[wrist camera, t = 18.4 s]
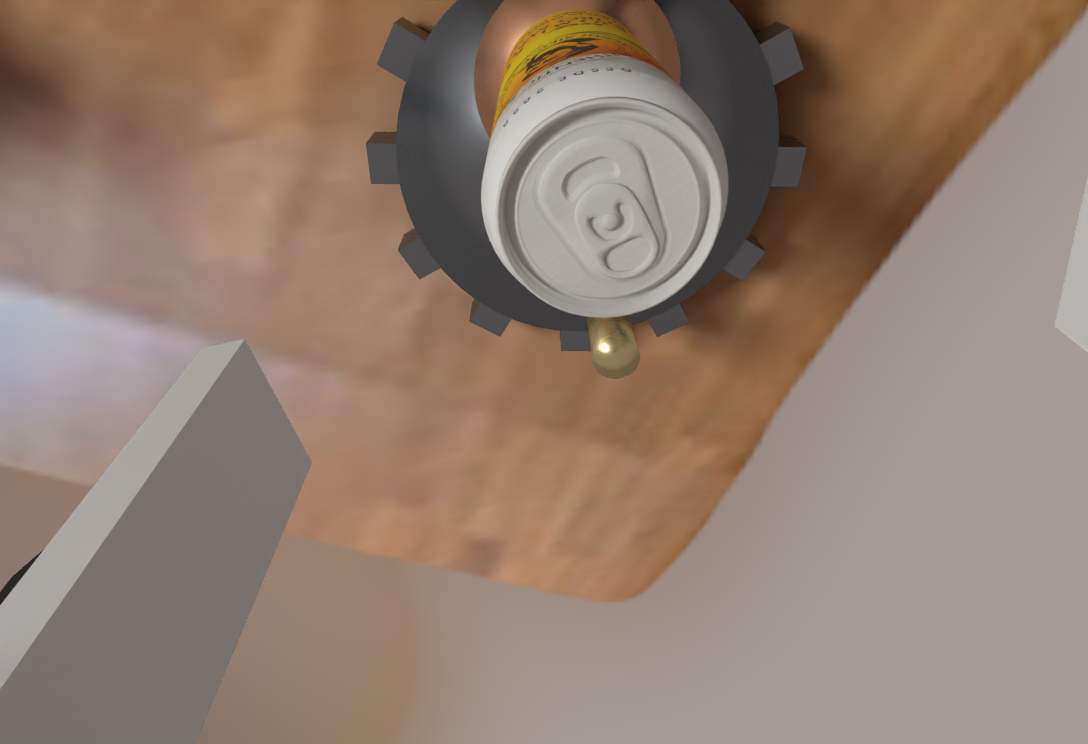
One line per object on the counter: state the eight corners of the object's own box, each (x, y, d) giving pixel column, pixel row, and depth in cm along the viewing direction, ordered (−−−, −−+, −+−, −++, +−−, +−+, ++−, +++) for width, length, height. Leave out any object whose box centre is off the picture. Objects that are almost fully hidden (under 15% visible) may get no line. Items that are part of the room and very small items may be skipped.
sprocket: (347, -101, 27) (282, -111, 20) (838, -94, 27) (944, -100, 20) (399, 329, 38) (369, 422, 31) (750, 330, 38) (800, 422, 31)
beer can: (609, -26, 26) (680, 20, 14) (670, 119, 29) (775, 266, 16) (474, 57, 28) (426, 166, 15) (545, 186, 31) (554, 367, 18)
